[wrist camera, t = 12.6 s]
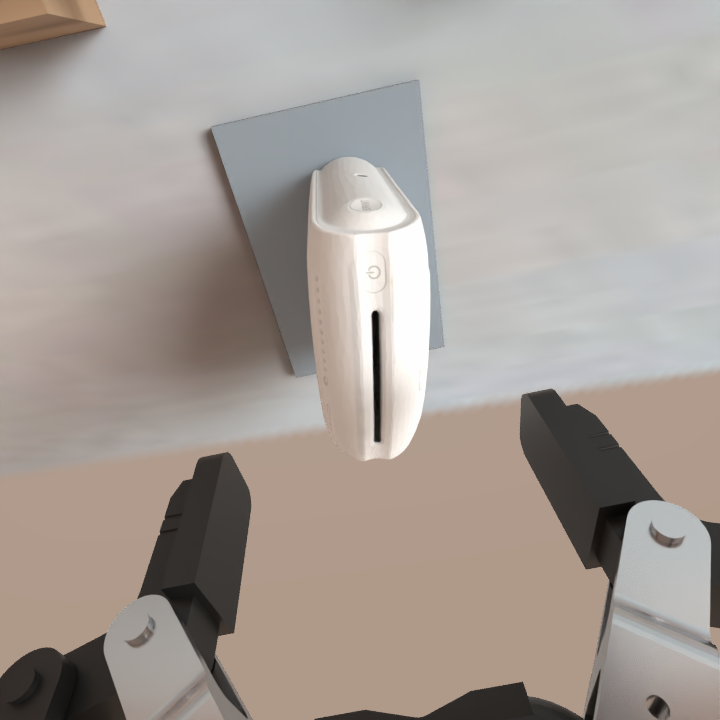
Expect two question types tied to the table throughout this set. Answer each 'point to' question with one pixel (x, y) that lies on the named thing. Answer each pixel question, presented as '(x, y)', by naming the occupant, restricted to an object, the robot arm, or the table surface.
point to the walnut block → (45, 19)
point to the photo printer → (367, 307)
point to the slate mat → (292, 189)
